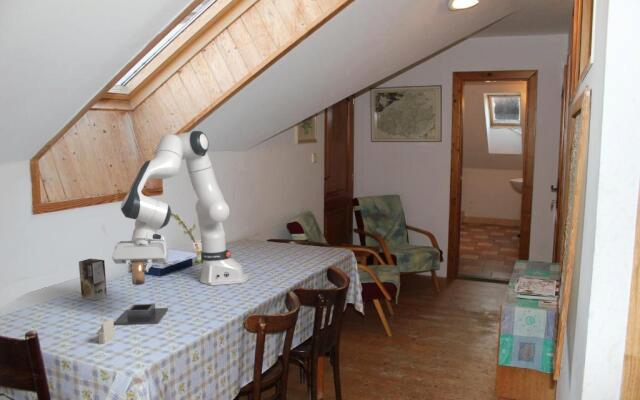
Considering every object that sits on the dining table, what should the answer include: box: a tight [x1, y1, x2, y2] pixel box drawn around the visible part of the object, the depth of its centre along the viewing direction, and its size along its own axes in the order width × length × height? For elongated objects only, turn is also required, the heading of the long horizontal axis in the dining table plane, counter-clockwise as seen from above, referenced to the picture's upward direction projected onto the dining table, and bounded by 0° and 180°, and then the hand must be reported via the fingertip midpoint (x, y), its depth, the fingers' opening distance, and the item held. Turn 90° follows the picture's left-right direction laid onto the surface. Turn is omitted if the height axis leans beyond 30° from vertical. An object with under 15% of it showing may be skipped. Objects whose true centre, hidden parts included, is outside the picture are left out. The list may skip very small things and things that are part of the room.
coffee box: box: [78, 258, 108, 301], centre depth 238 cm, size 9×6×16 cm
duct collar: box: [113, 303, 169, 326], centre depth 211 cm, size 16×16×4 cm
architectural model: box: [94, 317, 116, 345], centre depth 188 cm, size 3×7×7 cm, turn 166°
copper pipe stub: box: [130, 261, 146, 286], centre depth 209 cm, size 4×4×8 cm
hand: (137, 271), depth 209 cm, fingers closed on copper pipe stub, 4 cm apart
